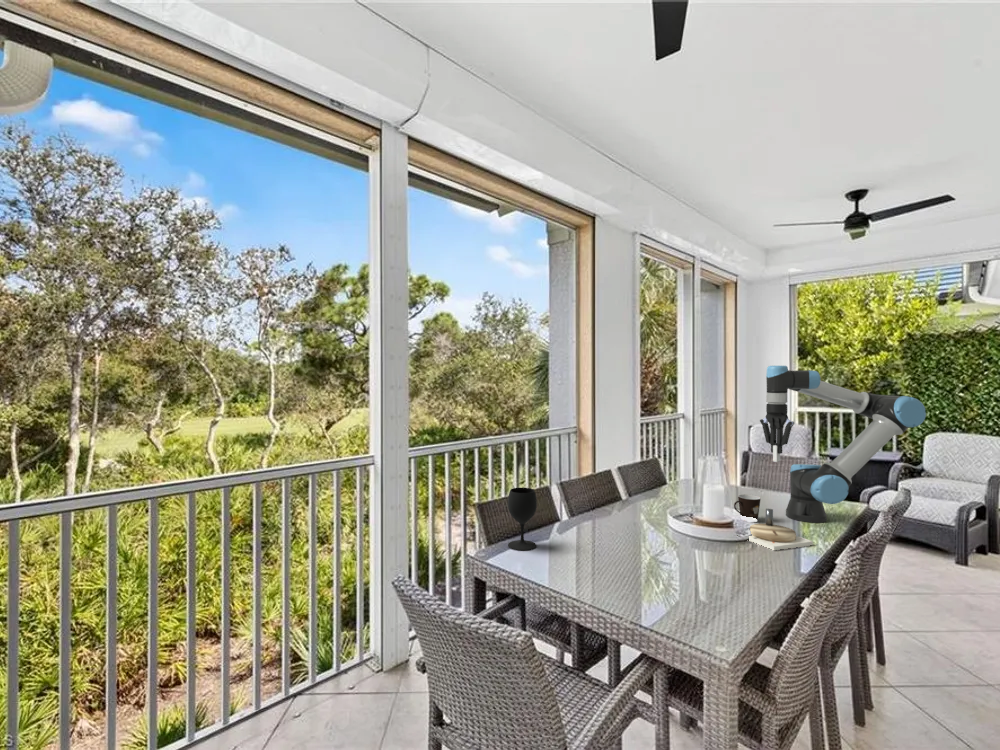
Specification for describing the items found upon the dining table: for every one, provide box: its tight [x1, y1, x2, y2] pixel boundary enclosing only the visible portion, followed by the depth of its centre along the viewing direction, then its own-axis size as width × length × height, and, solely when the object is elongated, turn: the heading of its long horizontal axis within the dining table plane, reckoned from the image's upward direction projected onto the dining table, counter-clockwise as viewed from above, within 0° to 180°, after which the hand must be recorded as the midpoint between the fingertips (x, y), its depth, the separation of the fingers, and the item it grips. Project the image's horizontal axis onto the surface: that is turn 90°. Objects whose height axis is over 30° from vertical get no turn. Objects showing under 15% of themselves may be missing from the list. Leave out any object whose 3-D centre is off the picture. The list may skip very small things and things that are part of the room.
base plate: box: [748, 535, 814, 551], centre depth 186 cm, size 18×18×2 cm
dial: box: [749, 508, 797, 542], centre depth 186 cm, size 15×15×8 cm
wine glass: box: [507, 487, 538, 552], centre depth 179 cm, size 10×10×20 cm
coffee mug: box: [733, 494, 762, 520], centre depth 211 cm, size 12×9×10 cm
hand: (776, 461), depth 203 cm, fingers closed
